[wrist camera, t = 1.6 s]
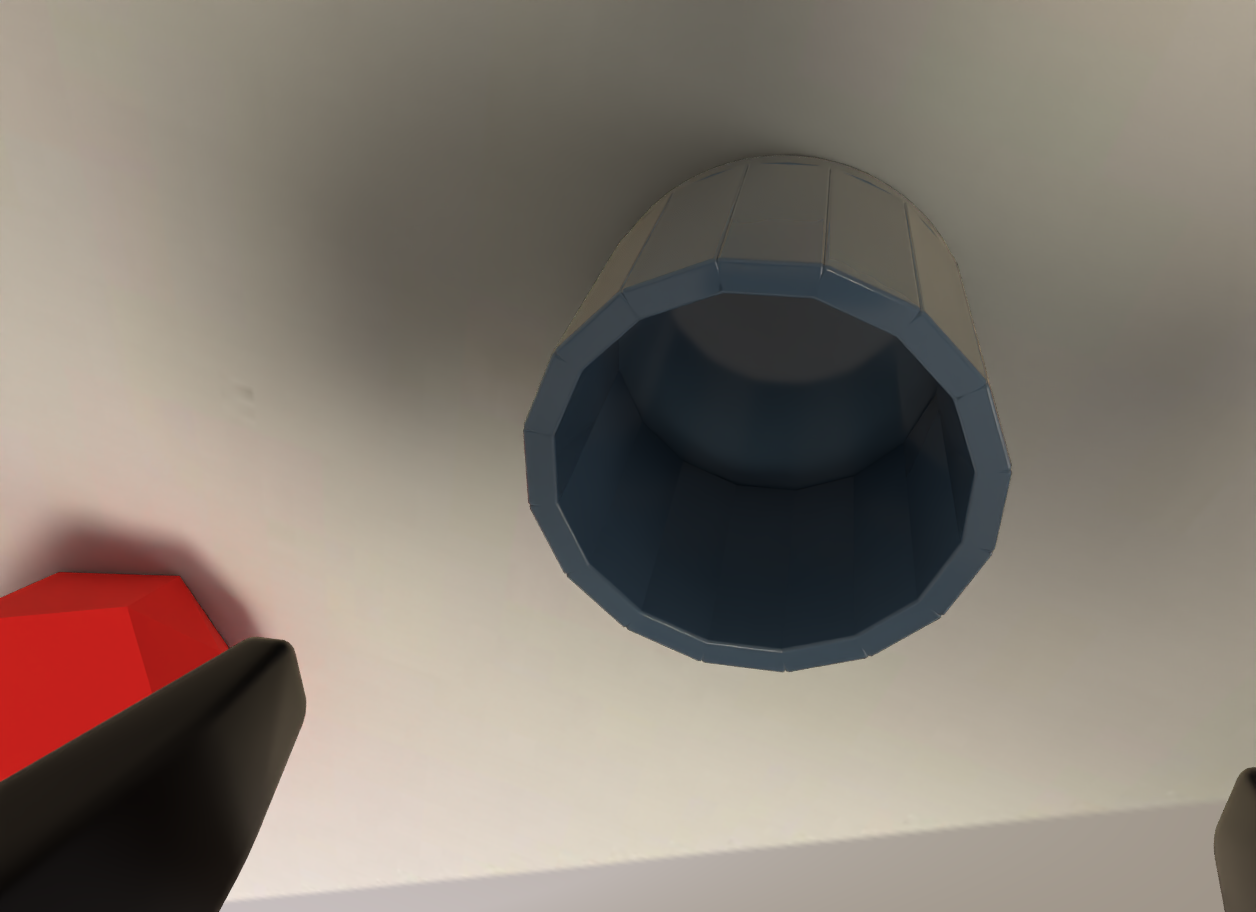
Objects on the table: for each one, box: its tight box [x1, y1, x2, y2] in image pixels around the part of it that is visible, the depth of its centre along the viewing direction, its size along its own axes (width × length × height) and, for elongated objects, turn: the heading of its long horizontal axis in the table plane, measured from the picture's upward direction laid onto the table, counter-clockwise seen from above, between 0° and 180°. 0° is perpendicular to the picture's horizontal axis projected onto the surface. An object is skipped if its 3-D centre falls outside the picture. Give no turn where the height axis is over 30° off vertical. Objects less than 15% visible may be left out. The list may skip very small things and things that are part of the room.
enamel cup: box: [523, 155, 1012, 672], centre depth 15 cm, size 6×6×5 cm
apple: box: [0, 572, 229, 782], centre depth 22 cm, size 7×7×8 cm
